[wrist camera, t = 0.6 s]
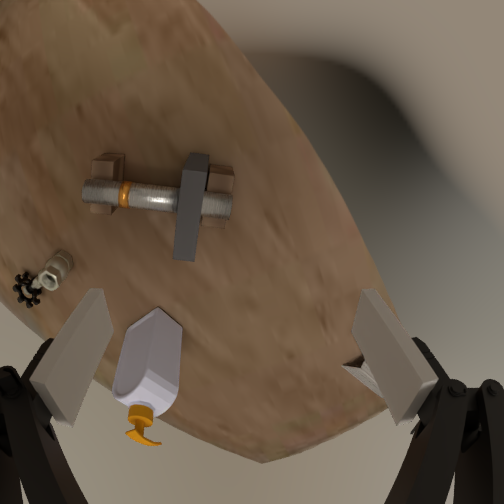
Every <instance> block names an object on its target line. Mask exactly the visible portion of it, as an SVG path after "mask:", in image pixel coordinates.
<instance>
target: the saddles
mask: <svg viewBox="0 0 504 504" xmlns="http://www.w3.org/2000/svg"><path fill="white" fill-rule="evenodd" d="M124 158H125V154H111V153H104V154H103V155H101V156H99V157H97V158H95V159H94V160H92V169H91V179H99V180H111V181H123V170H124ZM234 177H235V176H234V172H233V169H232V167H226V166H220V165H213V164H210V169H209V174H208V180H207V187H206V191H207V192H214V193H221V194H228V195H231V192H232V187H233V182H234ZM117 207H118V206H109V205H100V204H91V213H98V214H107V215H112V213H113V212H114V211H115V210H116V208H117ZM225 224H226V220H224V219H217V218H210V217H202V224H201V226H206V227H214V228H221V229H225Z"/></svg>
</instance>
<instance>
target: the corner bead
mask: <svg viewBox="0 0 504 504" xmlns="http://www.w3.org/2000/svg"><path fill="white" fill-rule="evenodd" d="M364 359H365V358H364ZM342 367H344V369H346V370H347V371H348V372H351V374H352V375H353V376H354V377H356V378H357V379H358V380H359V381H361V382H362V383H363V384H364V385H367V387H368V388H370V389H371V390H372V391H374V392H375V393H376V394H377V395H379V396H380V397H381V398H384V397H383V395H382V393H381V391H380V389H379V387H378V385H377V383H376V381H375V378H374V376H373V374H372V373H371V370H370V368H369V366H368V364H367V363H366V360H365V361H364V362H363V364H362V366H361V368H356V367H349V366H344V365H342ZM367 369H368V370H367Z"/></svg>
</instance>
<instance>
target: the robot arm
mask: <svg viewBox="0 0 504 504" xmlns="http://www.w3.org/2000/svg"><path fill="white" fill-rule="evenodd" d="M351 332H352V334H353V336H354V338H355V340H356V342H357V344H358V346H359V348H360V350H361V352H362V354H363V356H364V358H365V360H366V362H367V364H368V366H369V368H370V370H371V372H372V374H373V376H374V378H375V381H376V383H377V385H378V387H379V389H380V391H381V393H382V395H383V397H384V400H385V402H386V404H387V406H388V408H389V410H390V412H391V415H392V417H393V419H394V421H395V423H396V426H398V425H402V424H405V423H409V422H412V420H413V419H414V417H415V416H416V414H418V416H419V418H420V420H419V422H418V423H417V424H416V426H415V427H414V429H413V430H412V431H411V434H413V433H414V435H413V438H412V441H411V443H410V446H409V449H408V451H407V454H406V457H405V459H404V461H403V464H402V466H401V469H400V471H399V473H398V476H397V478H396V480H395V482H394V485H393V487H392V489H391V491H390V493H389V495H388V497H387V499H386V501H385V503H384V504H445V501H446V499H447V495H448V492H449V489H450V486H451V482H452V479H453V476H454V472H455V485H454V500H453V504H504V389H503V387H502V385H500V383H499V382H497V381H495V380H492V379H487V380H485V381H484V382H483V383H482V385H481V386H480V388H467V387H466V385H465V384H464V383H462V382H461V381H459V380H455V379H450V378H449V377H448V375H447V374H446V373H445V371H444V369H443V368H442V366H441V365H440V364H439V362H438V361H437V360H436V358H435V356H434V355H433V354H432V352H430V349H429V348H428V347H427V345H426V344H425V343H424V342H423V341H421V340H420V339H418V338H417V337H415V338H411V337H410V336H409V334H408V333H407V332H406V330H405V329H404V327H403V326H402V325H401V323H400V322H399V320H398V319H397V318H396V316H395V315H394V314H393V312H392V311H391V310H390V308H389V307H388V306H387V304H386V303H385V302H384V300H383V299H382V298H381V296H380V295H379V294H378V292H377V291H376V290H375V289H362V291H361V295H360V299H359V303H358V307H357V311H356V315H355V319H354V323H353V327H352V330H351ZM113 333H114V330H113V326H112V323H111V319H110V315H109V312H108V308H107V304H106V300H105V296H104V291H103V289H98V288H90V289H89V290H88V292H87V293H86V294H85V296H84V297H83V299H82V300H81V301H80V303H79V304H78V305H77V307H76V308H75V310H74V311H73V313H72V314H71V315H70V317H69V318H68V320H67V321H66V323H65V324H64V325H63V327H62V328H61V330H60V331H59V333H58V334H57V336H56V337H55V339H53V338H49V339H48V340H47V341H45V342H44V343H43V344H42V345H41V347H40V348H39V350H38V351H37V354H35V356H34V357H33V360H31V362H30V363H29V365H28V367H27V368H26V370H25V372H24V373H23V375H22V376H21V378H20V376H19V374H18V373H17V371H16V369H15V368H13V367H12V366H3V367H1V368H0V504H23V500H22V492H21V485H20V480H21V483H22V485H23V488H24V491H25V494H26V496H27V499H28V501H29V504H88V502H87V500H86V499H85V497H84V495H83V493H82V491H81V489H80V487H79V485H78V484H77V482H76V480H75V478H74V476H73V474H72V472H71V469H70V467H69V465H68V463H67V461H66V458H65V456H64V454H63V451H62V449H61V447H60V445H59V442H58V439H57V437H56V434H55V431H54V429H53V426H52V425H51V423H50V419H51V417H52V416H53V417H54V419H55V420H56V421H57V423H58V424H61V425H65V426H69V427H73V425H74V422H75V420H76V417H77V415H78V412H79V409H80V407H81V404H82V402H83V400H84V397H85V395H86V392H87V389H88V388H89V385H90V383H91V381H92V378H93V376H94V374H95V371H96V369H97V367H98V365H99V362H100V360H101V358H102V356H103V354H104V351H105V349H106V347H107V345H108V343H109V341H110V339H111V337H112V335H113ZM414 431H415V432H414Z"/></svg>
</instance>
